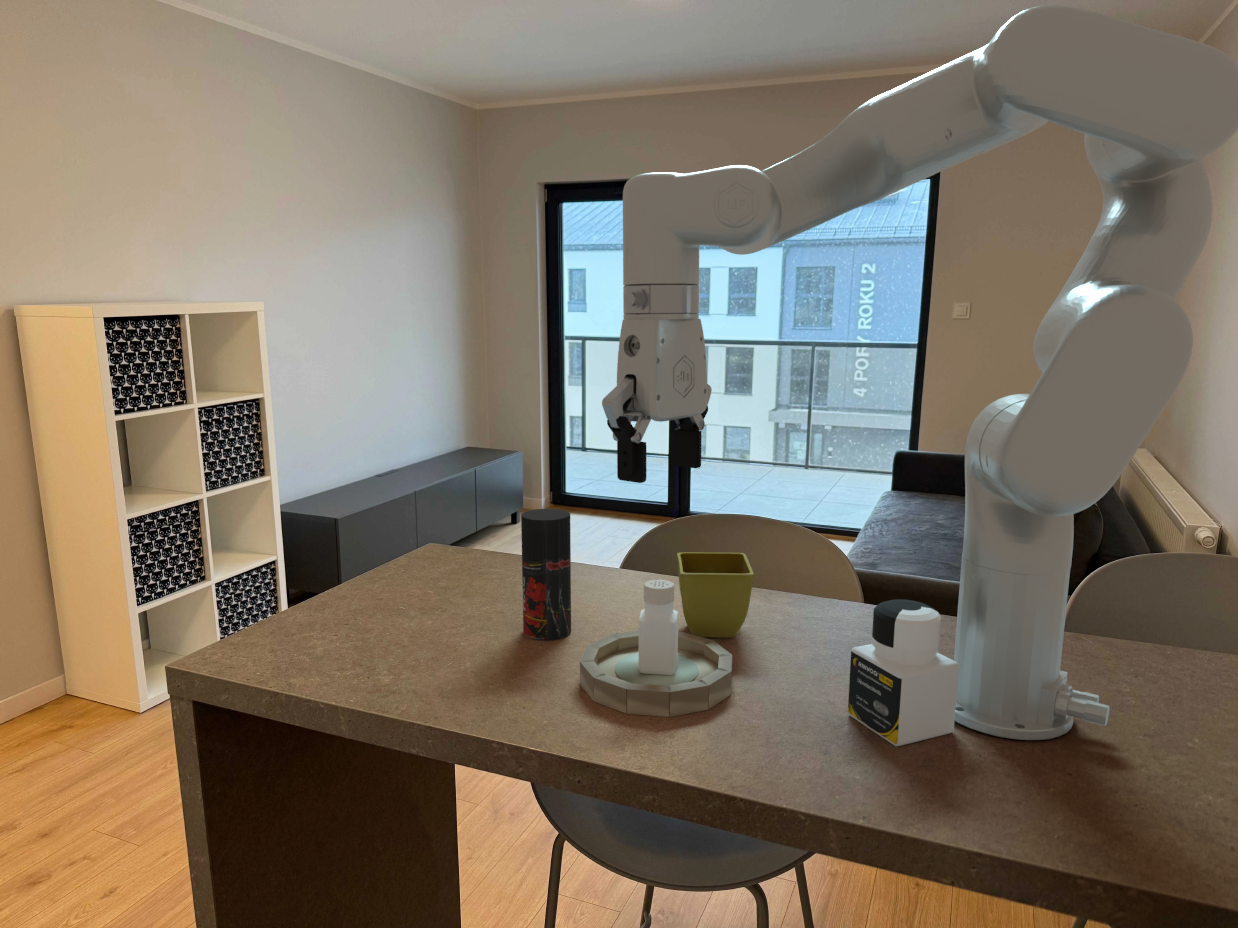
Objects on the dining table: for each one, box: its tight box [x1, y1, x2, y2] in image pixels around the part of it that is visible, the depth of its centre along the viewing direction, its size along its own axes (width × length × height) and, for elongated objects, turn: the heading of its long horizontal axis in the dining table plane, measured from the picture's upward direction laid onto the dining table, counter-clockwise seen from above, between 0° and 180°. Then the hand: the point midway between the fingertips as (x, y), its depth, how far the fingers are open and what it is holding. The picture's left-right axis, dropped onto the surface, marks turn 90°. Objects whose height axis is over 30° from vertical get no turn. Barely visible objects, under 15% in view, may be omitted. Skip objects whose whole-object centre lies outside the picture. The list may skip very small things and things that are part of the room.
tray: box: [579, 630, 733, 718], centre depth 90 cm, size 16×16×3 cm
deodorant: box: [520, 508, 572, 642], centre depth 103 cm, size 6×6×15 cm
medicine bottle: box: [847, 598, 959, 747], centre depth 80 cm, size 7×7×12 cm
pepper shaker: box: [638, 579, 679, 675], centre depth 90 cm, size 4×4×10 cm
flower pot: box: [676, 551, 755, 639], centre depth 104 cm, size 9×9×9 cm
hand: (660, 473), depth 87 cm, fingers open, 9 cm apart
